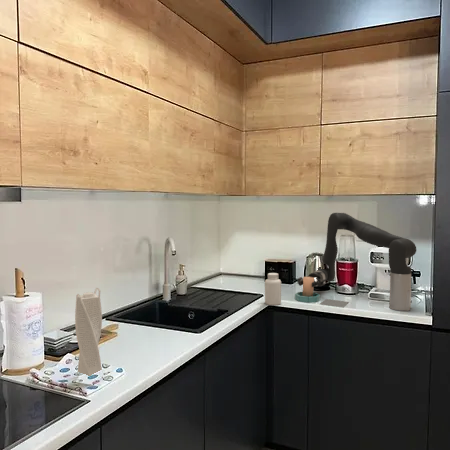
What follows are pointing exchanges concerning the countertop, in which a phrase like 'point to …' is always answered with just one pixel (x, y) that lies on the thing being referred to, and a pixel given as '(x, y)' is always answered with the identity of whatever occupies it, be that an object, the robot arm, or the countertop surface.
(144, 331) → the countertop surface
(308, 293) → the canister
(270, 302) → the pill bottle
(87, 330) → the skyscraper
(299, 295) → the bowl
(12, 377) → the countertop surface
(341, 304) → the mat
